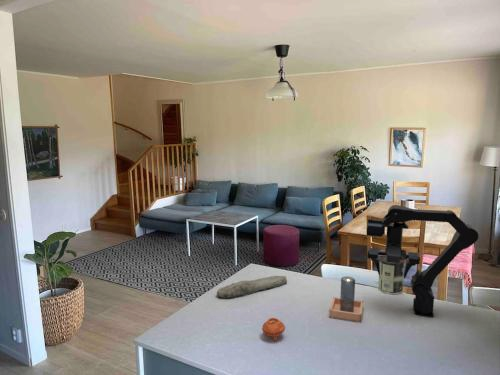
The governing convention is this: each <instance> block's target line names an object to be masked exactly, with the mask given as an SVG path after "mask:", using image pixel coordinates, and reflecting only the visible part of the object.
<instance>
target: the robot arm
mask: <svg viewBox="0 0 500 375" xmlns="http://www.w3.org/2000/svg"><path fill="white" fill-rule="evenodd" d="M413 221H417V222H418V221H420V222H437V223H448V224H449V225H450V226H451V227H452V228H453V229H454V230H455V232H454V234H453V236H452V238H451V241H450V242H449V244H448V245H447V246H446V247H445V248H444V249H443V250H442V251H441V252H440V254H439V255H438V256H437V257H436V258H434V260H433V261H432V263H430V265H429V266H428V267H426V269H424V270H422V271H421V270H419V269H417V270H416V272H415V273H414V274H413V275H412V276H411V279H410V284H411V285H410V286H411V291H412V292H413V294H414V296H415V297H414V298H413V300H412V302H413V303H412V310H413V311H414V315H417V316H423V317H431V318H434V316H435V314H434V306H435V304H434V303H435V295H434V291H433V289H432V287H433V284H434V282H435V280H436V278H437V277H438V276H439V275H440V274H441V273H442V272H443V271H444V270H445V269H446V267H447V266H449V264H450V263H451V262H452V261H453V260H454V259H455V258H456V257H457V255H459V254H460V253H461V252H462V251H464V250H466V249H467V248H470V247H471V246H473V245H475V243H476V242H478V240H479V238H480V237H479V233H478V231H477V230H476V228H474V227H473V226H472V225H470V224H468V223H467V224H466V223H465V222H464V221H463V220H462V219H461V218H460V217H459V216H458V215H457V214H456V212H455V211H453V210H439V209H438V210H437V209H436V210H435V209H417V208H411V207H410V208H409V207H407V206H403V205H399V204H394V205H391V206H390V207H389V208H388V210H387V213H386V214H385V215H384V217H382V219H374V218H368V219H367V226H366V237H375V238H382V237H384V236H385V251H379V250H380V249H379V248H375V247H369V248H368V249H367V259H370V260H371V261H372V262H373V263H374V265H375V267H376V271H377V274H378V276H379V275H380V263H379V257H386V261H387V262H395V263H400V260H404V261H406V263H405V264H404V271H403V280H405V279H406V277H407V275H408V273H409V271H410V269H411V268H412V267H413V266H416V265H420V263H421V258H420V257H421V256H420V254H419V253H418V252H415V251H414V252H413V251H407V250H405V249H402V247H403V246H402V245H403V230H404V229H409V225H408V224H407V223H406V222H413ZM385 233H386V235H385Z"/></svg>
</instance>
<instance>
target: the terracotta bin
mask: <svg viewBox="0 0 500 375" xmlns="http://www.w3.org/2000/svg"><path fill="white" fill-rule="evenodd" d="M363 310H364V300H363V301H362V300H356V299H354V313H352V312H345V311H340V297H335V296H334V297H333V298H332V301H331V303H330V307H329V311H328V312H329V314H328V318H330V319H337V320H342V321H343V320H344V321H349V322H355V323H362V318H363Z"/></svg>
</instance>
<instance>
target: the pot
mask: <svg viewBox="0 0 500 375" xmlns="http://www.w3.org/2000/svg"><path fill="white" fill-rule="evenodd" d="M285 329H286V326H285V324H284V323H283V321H281V320H280V319H278V318H276V317H270V318H269V319H267V320H266V321H265V322H264V323H263V324H262V326H261V330H262V332H263V333H264V335H265V336H266V337H267V336H268V337H272V338H273V339H274V341H275V342H276V341H277V339H278V337H279V336H281V335H282V334H283V333H284V332H285Z"/></svg>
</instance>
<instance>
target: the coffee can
mask: <svg viewBox="0 0 500 375" xmlns="http://www.w3.org/2000/svg"><path fill="white" fill-rule="evenodd" d="M379 263H380V275H379V274H378V285H377V286H378V287H377V288H378V290H379V292H382V293H384V294H387V295H400V294H402V293H403V288H404V284H403V283H404V271H405V260H400V263H395V262H387V261H386V257H380V256H379Z"/></svg>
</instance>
